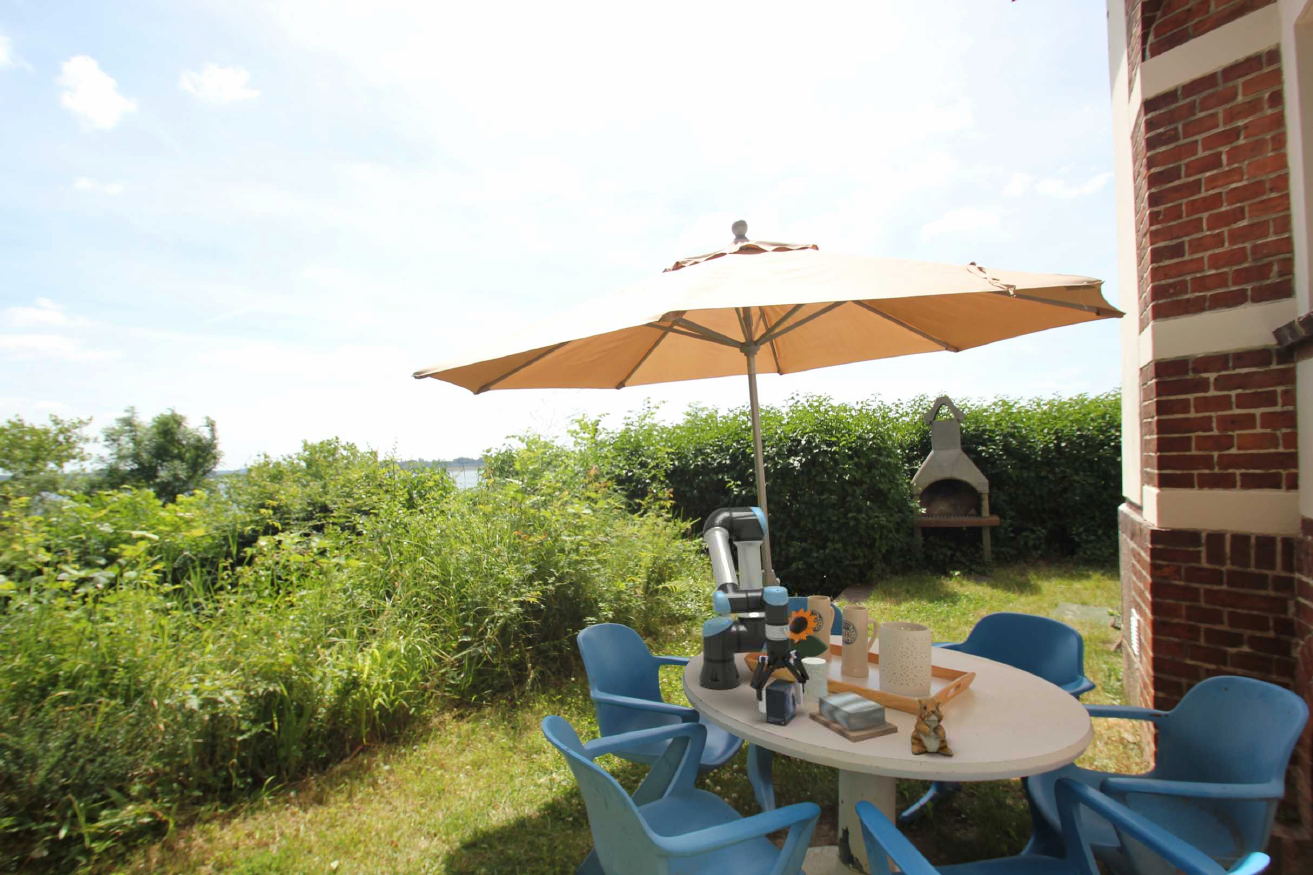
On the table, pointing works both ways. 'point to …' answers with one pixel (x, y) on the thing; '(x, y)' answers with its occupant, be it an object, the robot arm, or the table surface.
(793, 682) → the small box
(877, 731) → the building base
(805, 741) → the table surface
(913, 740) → the stuffed squirrel
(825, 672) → the cup
